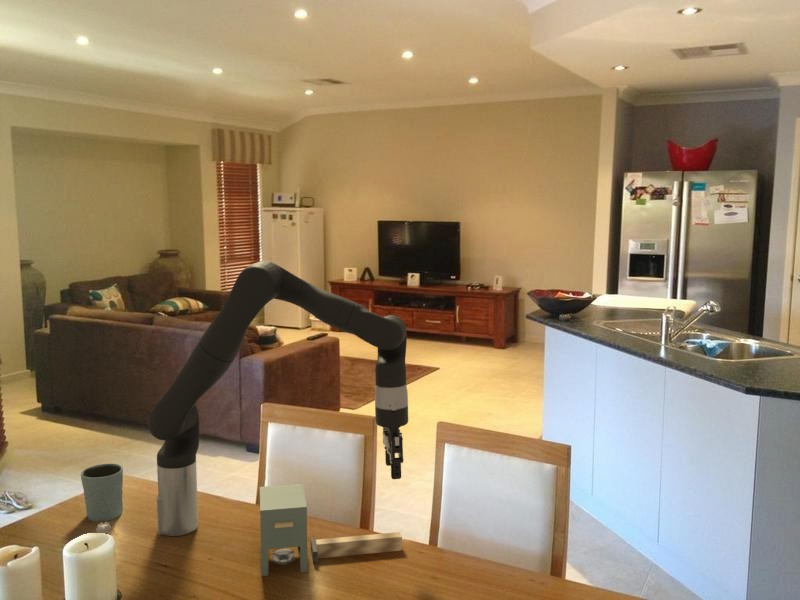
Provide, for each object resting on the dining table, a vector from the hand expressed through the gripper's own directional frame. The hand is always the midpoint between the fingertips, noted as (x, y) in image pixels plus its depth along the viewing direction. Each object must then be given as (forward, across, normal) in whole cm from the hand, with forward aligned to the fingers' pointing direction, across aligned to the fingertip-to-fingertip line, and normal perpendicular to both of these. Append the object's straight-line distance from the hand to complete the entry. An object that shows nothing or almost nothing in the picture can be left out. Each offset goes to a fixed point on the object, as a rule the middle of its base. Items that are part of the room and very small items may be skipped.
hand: (393, 471), depth 158 cm
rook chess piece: (+18, -7, -66) cm, 69 cm away
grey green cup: (+17, -31, -72) cm, 81 cm away
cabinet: (+19, 0, -26) cm, 32 cm away
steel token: (+19, 0, -26) cm, 32 cm away
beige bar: (+19, -1, -8) cm, 21 cm away
